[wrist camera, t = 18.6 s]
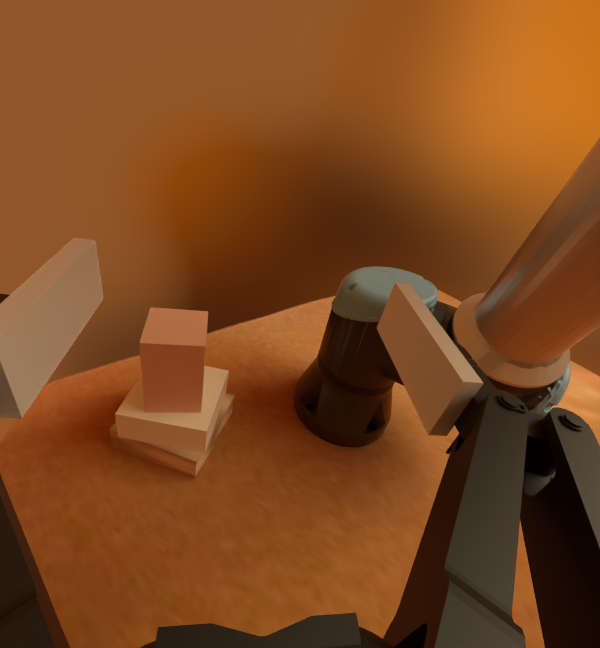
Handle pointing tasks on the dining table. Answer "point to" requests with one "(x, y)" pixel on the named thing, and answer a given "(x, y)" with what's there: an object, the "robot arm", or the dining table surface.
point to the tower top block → (173, 416)
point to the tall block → (173, 360)
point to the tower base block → (171, 456)
